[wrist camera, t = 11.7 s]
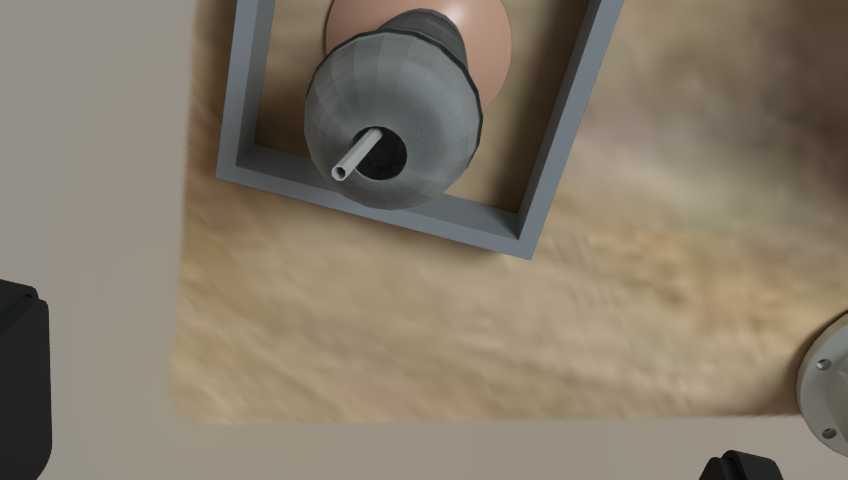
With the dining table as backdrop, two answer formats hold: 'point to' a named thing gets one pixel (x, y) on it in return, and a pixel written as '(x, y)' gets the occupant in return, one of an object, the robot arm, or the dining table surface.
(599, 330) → the dining table surface
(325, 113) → the beverage cup
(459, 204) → the grey square frame
